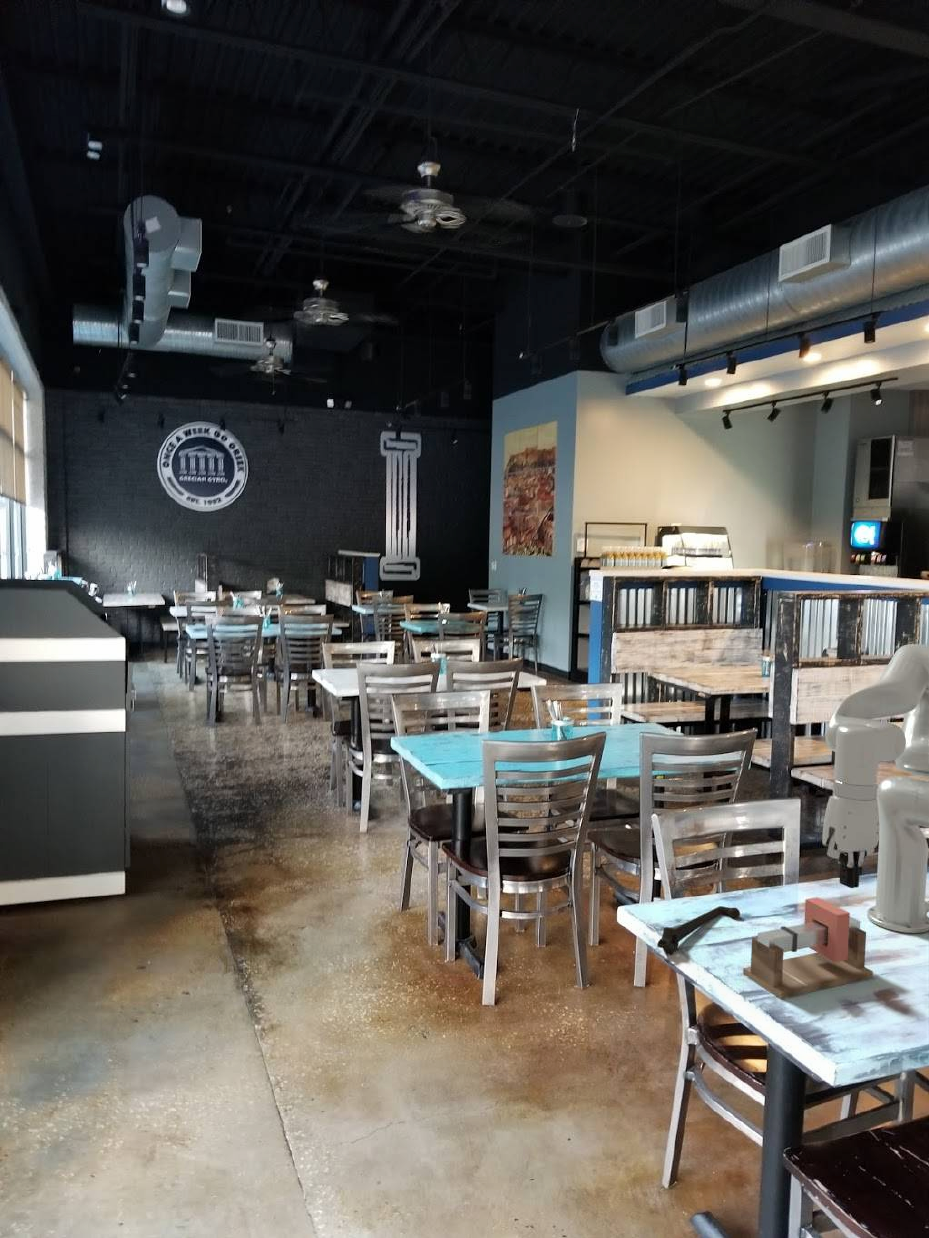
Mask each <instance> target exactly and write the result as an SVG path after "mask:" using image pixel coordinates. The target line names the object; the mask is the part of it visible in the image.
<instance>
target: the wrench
mask: <svg viewBox="0 0 929 1238" xmlns="http://www.w3.org/2000/svg"><path fill="white" fill-rule="evenodd" d="M720 915H723V916H727V917H729V918H731V919H739V918H740V915H741V911H740V910H739V909H738V908H737V907H726V906H723V905H722V906H721V905H719V906H717V907H714V909H711V910H709V911H708V912H706V913H703V914H701V915H699V916H697V917H695V918H692V919H691V920H689V921H687V922H684V923H682V924H681V925H679V926H677V927H675V928H674V927H669V926H668V927H667V926H666V927H664V928H663V932H662V936H661V938H660V939H659V940H658V942H657V943H656V945H657V947H658V948H661V949H663V951H664V954H667V955H670V956H671V955H672V956H673V955H674V954H675V952H676V950H677V948H678V946H679V942H680V941H682V940H683V939H684V938H686V937H687V936H689V935H690V934H692V933H693V932H695V931H697V929H699V928H701V927H702V926H704V925H706V924H707V923H708V922H710V921H711V920H713V919H715V918H716V917H718V916H720Z"/></svg>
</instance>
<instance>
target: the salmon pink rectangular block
mask: <svg viewBox="0 0 929 1238" xmlns="http://www.w3.org/2000/svg"><path fill="white" fill-rule="evenodd" d="M850 917H851V914H850V912H849V911H848V910H845V909H843V908H841V907H839V906H837V905H836V904H835V905H834V904H832V903H830V902H828V901H827V900H824V899H823V898H820V897H818V896H817V897H812V898H811V897H810V898H807V899H806V898H805V905H804V920H803V921H804V923H803V924H807V923H812V922H817V921H818V922H820V923H822V924H824V925H826V926H828V943H827V944H822V945H817V946H813V947H808V949H810V950H812V951H814V952H815V953H817V952H818V953H819V954H821V955H823V956H825V957H826V958H828V959H830V960H832V961H834V962H839V961H844V960H847V957H848V938H849V918H850Z"/></svg>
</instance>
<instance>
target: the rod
mask: <svg viewBox="0 0 929 1238" xmlns="http://www.w3.org/2000/svg"><path fill="white" fill-rule="evenodd" d="M858 929H861V921H860V920H858V919H856V918H854V917H852V916H850V918H849V938H848V939H851V938H852V931H853V930H858ZM757 937H758V941H759V942H760V943H761V945H762V944H764V946H763V947H765V948H764V949H766V948H767V949H768V947H769V948H770V947H775V946H779V947H780V948H782V949H783V954H784V953H787V952H792V953H796V952H797V951H798V950H803V949H806V948H808V949H809V947H813V946H817V945H822V944H827V943H828V926H826V925H824V924H822V923H820V922H818V921H817V922H812V923H807V924H804V923H802V924H797V925H792V926H787V927H786V926H781V927H780V928H777V929H771V930H766V931H762V932H757ZM757 945H760V944H757ZM766 946H767V947H766ZM763 947H762V948H763ZM757 948H760V946H759V947H758V946H757ZM762 948H760V951H763V952H764V950H762ZM767 949H766V950H767ZM758 950H759V949H758Z"/></svg>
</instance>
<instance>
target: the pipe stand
mask: <svg viewBox="0 0 929 1238" xmlns="http://www.w3.org/2000/svg"><path fill="white" fill-rule="evenodd" d="M866 943H867V931H865V930H863V929H861V928H860V929H858V930H853V931H852V938H851V939H848V957H847V960H844V961H839V962H834V961H832V960H830V959H828V958H826V957H825V956H823V955H821V954H819V953H818V952H813V953H807V954H804V955H800V956H794V957H789V958H785V959H784V953H783V949H782V948H780V947H779V946H775V947H770V948H769V947H768V949H767V948H766V949H767V950H766V949H764V948H765V947H763V946H764V944H762V945H761V943H760V942H759V941H758V936H753V937H752V938H751V954H750V955H751V957H750V966H748V967H743V969H742V970H743V971H742V975H743V974H744V975H743V976H745V975H746V976H748V977H749V978H750V979H749V978H748V977H747V978H748V979H749V980H751V979H752V980H753V982H754V983H756V984H757V985H759V986H760V985H761V986H760V987H761V988H763V989H765V990H766V989H767V990H766V991H768V992H769V991H770V992H769V993H771V995H774V996H775V995H776V997H777V996H778V997H779V998H778V997H777V998H778V999H780V1000H783V999H787V998H786V997H788V998H791V996H792V997H795V996H794V995H796V996H799V995H804V994H808V993H813V992H817V991H816V990H818V991H821V990H826V989H830V988H834V987H838V986H842V985H847V984H851V983H855V982H859V981H864V980H868V979H869V980H870V979H873V976H874V971H873V970H871V969H870V968H867V967H865V963H866V947H867V944H866ZM757 944H760V945H757ZM757 946H758V947H759V946H760V948H762V947H763V948H762V950H764V952H763V951H760V948H757ZM766 947H767V946H766ZM758 949H759V950H758ZM746 976H745V977H746ZM752 980H751V981H752ZM782 998H783V999H782Z"/></svg>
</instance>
